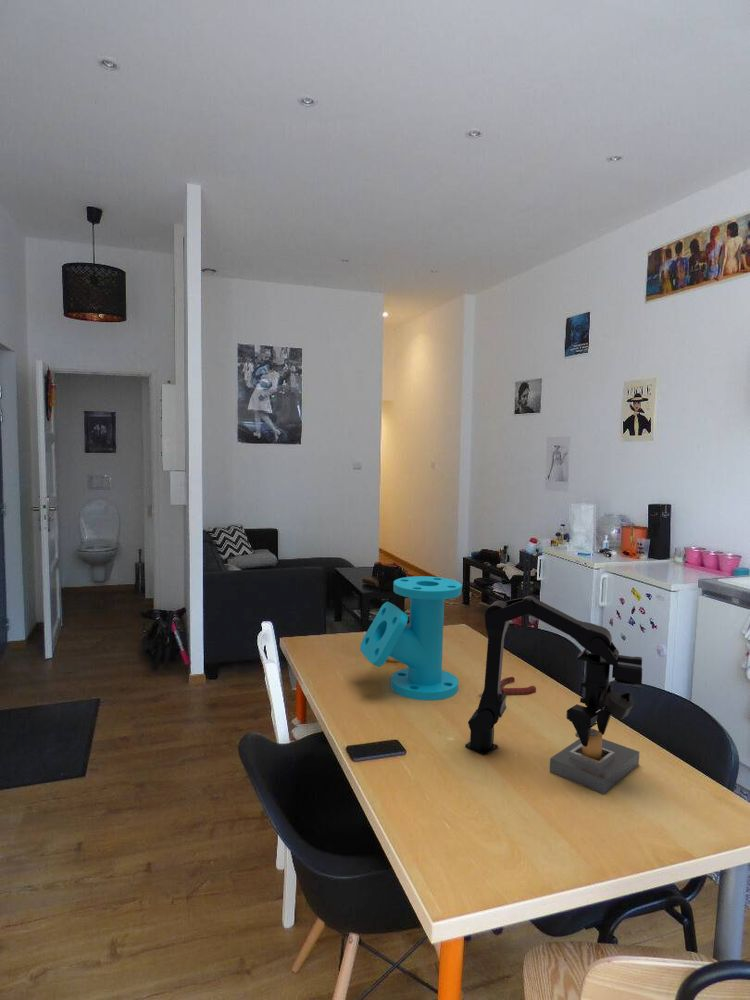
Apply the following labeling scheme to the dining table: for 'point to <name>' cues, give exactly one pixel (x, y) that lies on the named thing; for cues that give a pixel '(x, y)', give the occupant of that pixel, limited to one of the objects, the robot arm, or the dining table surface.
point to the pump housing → (593, 745)
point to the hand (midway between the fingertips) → (593, 739)
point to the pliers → (514, 690)
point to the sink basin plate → (595, 765)
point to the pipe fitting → (414, 638)
